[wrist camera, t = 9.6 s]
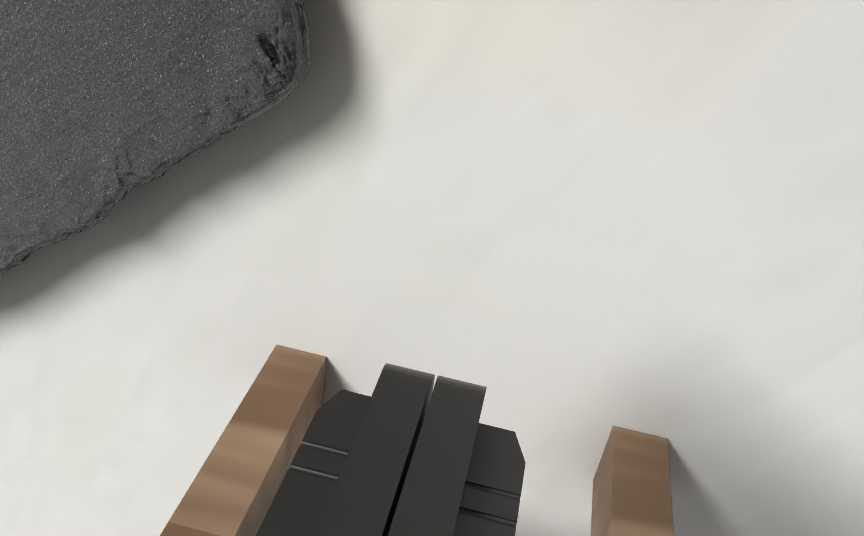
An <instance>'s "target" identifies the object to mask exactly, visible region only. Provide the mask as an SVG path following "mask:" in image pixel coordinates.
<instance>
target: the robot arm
mask: <svg viewBox="0 0 864 536" xmlns="http://www.w3.org/2000/svg"><path fill="white" fill-rule="evenodd" d="M434 378H435V375H433V374H429V373H425V372H421V371H417V370H412V369H408V368H404V367H400V366H396V365H392V364H385V366H384V368H383V370H382V372H381V374H380V377H379V379H378V382H377V384H376V387H375V389H374V392H373V394H372V397H370V396H366V395H362V394H358V393H354V392H350V391H346V390H341V391H340V392H339V393H337V394H336V395H335V396H334V397H333V398H331V399H330V400H329V401H328V402H327V403H325V404H324V405H323V406H322V407H320V408H319V409H318V410H317V411H316V412H315V415H314V417H313V419H312V421H311V423H310V425H309V427H308V429H307V431H306V433H305V435H304V437H303V439H302V444H301V445H299V448H298V450H297V452H296V454H295V456H294V458H293V460H292V462H291V466H290V469H288V470H287V472H286V474H285V476H284V478H283V481H282V483H281V485H280V487H279V489H278V491H277V493H276V495H275V497H274V499H273V501H272V503H271V505H270V507H269V509H268V511H267V513H266V516H265V518H264V520H263V522H262V524H261V526H260V528H259V530H258V532H257V534H256V536H515V531H516V523H517V517H518V510H519V504H520V496H521V490H522V483H523V476H524V469H525V460H524V457H523V454H522V451H521V448H520V446H519V443H518V440H517V437H516V434H515V432H513V431H509V430H505V429H501V428H497V427H493V426H489V425H485V424H481V423H479V419H480V414H481V410H482V406H483V401H484V397H485V392H486V388H487V387H484V386H480V385H476V384H472V383H467V382H463V381H459V380H455V379H451V378H447V377H442V376H438V377H437V380H436V383H435V386H434V389H433V385H434ZM432 391H433V393H432Z"/></svg>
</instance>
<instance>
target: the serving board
mask: <svg viewBox="0 0 864 536" xmlns="http://www.w3.org/2000/svg"><path fill="white" fill-rule="evenodd" d="M310 65H311V54H310V41H309V27H308V23H307V18H306V14H305V9H304V5H303V0H0V276H1V274H2V273H4V272H5V271H7V270H8V269H9V268H11V267H13V266H15V265H17V264H20V263H22V262H24V261H25V260H26V259H27V258H28V257H29V256H30V255H31V254H33V253H34V252H35V251H37V250H38V249H39V248H41V247H43V246H46V245H48V244H51V243H55V242H58V241H61V240H64V239H66V238H67V237H68V236H69V235H70V234H71V233H73V232H82V231H84V230H87V229H89V228H91V227H92V226H94V225H95V224H97V223H98V222H100V221H101V220H102V219H103V218H104V217H105V216H106V215H108V214H109V212H110V210H111V209H112V207H113V206H114V205H115V204H116V203H117V202H119V201H120V200H122V199H123V198H125V197H126V196H127V195H128V193H129V192H130V190H131V189H132V187H133V186H134V185H139V184H144V183H146V182H150V181H152V180H154V179H156V178H158V177H160V176H162V175H164V173H165V172H166V171H167V169H168V168H169V167H171V166H172V165H174V164H176V163H179V162H182V161H185V160H187V159H188V158H190V157H192V156H193V155H195V154H196V153H198V152H200V151H202V150H203V149H205V148H207V147H209V146H211V145H212V144H214V143H215V142H217V141H218V140H219V139H221V138H222V137H224V136H226V135H227V134H229V133H231V132H233V131H235V130H237V129H238V128H240V127H242V126H243V125H245V124H247V123H249V122H250V121H252V120H253V119H255V118H257V117H258V116H260V115H262V114H263V113H265V112H266V111H268V110H269V109H271V108H272V107H274V106H275V105H277V104H278V103H280V102H281V101H283V100H284V99H285V98H286V97H287V96H288V95H289V94H290V93H291V92H292V91H293V90H294V89H295V88H296V87H297V86H298V85H299V84H300V83H301V82H302V81H304V79H305V77H306V75H307V72H308V70H309V67H310Z"/></svg>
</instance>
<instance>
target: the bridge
mask: <svg viewBox="0 0 864 536" xmlns="http://www.w3.org/2000/svg"><path fill="white" fill-rule="evenodd" d="M325 368H326V357H324V356H320V355H316V354H311V353H307V352H303V351H299V350H295V349H291V348H286V347H282V346H278V345H276V347H275V348H274V350H273V351H272V353H271V355H270V356H269V358H268V360H267V361H266V363H265V365H264V366H263V368H262V369H261V371H260V373H259V374H258V376H257V378H256V379H255V381H254V383H253V384H252V386H251V388H250V389H249V391H248V392H247V394H246V396H245V397H244V399H243V401H242V402H241V404H240V406H239V407H238V409H237V410H236V412H235V414H234V415H233V417H232V419H231V420H230V422H229V424H228V425H227V427H226V428H225V430H224V432H223V433H222V435H221V437H220V438H219V440H218V442H217V443H216V445H215V446H214V448H213V450H212V451H211V453H210V455H209V456H208V458H207V460H206V461H205V463H204V464H203V466H202V468H201V469H200V471H199V473H198V474H197V476H196V478H195V479H194V481H193V483H192V484H191V486H190V487H189V489H188V491H187V492H186V494H185V496H184V497H183V499H182V501H181V502H180V504H179V505H178V507H177V509H176V510H175V512H174V514H173V515H172V517H171V519H170V520H169V522H168V523H167V525H166V527H165V528H164V530H163V532H162V533H161V535H160V536H256V534H257V532H258V530H259V528H260V526H261V524H262V522H263V520H264V518H265V516H266V513H267V511H268V509H269V507H270V505H271V503H272V501H273V499H274V497H275V495H276V493H277V491H278V489H279V487H280V485H281V483H282V481H283V478H284V476H285V474H286V472H287V470H288V469H290V466H291V462H292V460H293V458H294V456H295V454H296V452H297V450H298V448H299V445H301V444H302V439H303V437H304V435H305V433H306V431H307V429H308V427H309V425H310V423H311V421H312V419H313V417H314V415H315V412H316V411H317V410H318V409H319V408H320V407H322V406H323V399H324V383H325ZM591 536H674V531H673V515H672V500H671V484H670V468H669V452H668V439H665V438H661V437H657V436H652V435H648V434H644V433H640V432H636V431H632V430H628V429H623V428H619V427H615V426H613V427H612V430H611V433H610V436H609V439H608V441H607V444H606V447H605V450H604V452H603V455H602V458H601V461H600V463H599V466H598V469H597V472H596V474H595V477H594V480H593V498H592V520H591Z"/></svg>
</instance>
